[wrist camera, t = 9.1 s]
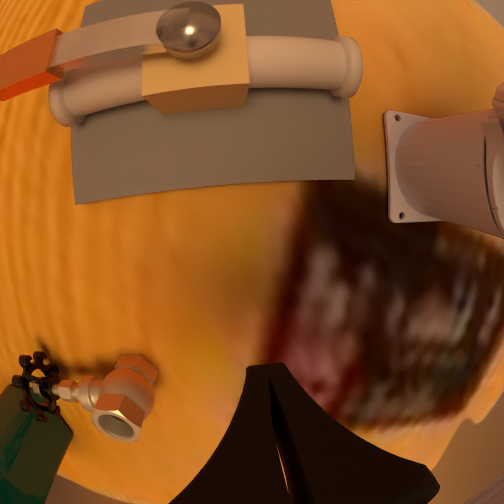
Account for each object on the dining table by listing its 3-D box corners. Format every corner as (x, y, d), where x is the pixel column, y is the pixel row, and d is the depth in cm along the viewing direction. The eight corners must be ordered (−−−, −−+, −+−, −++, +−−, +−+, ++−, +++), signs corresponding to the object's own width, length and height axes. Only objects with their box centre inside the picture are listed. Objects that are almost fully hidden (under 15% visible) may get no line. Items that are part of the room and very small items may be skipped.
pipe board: (321, -13, 13) (343, -51, 8) (348, 179, 17) (391, 181, 12) (90, 11, 12) (61, -20, 7) (82, 203, 16) (36, 214, 11)
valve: (149, 335, 19) (37, 337, 19) (123, 393, 13) (0, 376, 12) (171, 397, 21) (65, 391, 20) (159, 456, 15) (39, 435, 14)
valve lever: (223, 18, 9) (223, -4, 7) (219, 63, 10) (218, 44, 8) (15, 64, 8) (-4, 56, 6) (7, 103, 9) (-15, 98, 7)
